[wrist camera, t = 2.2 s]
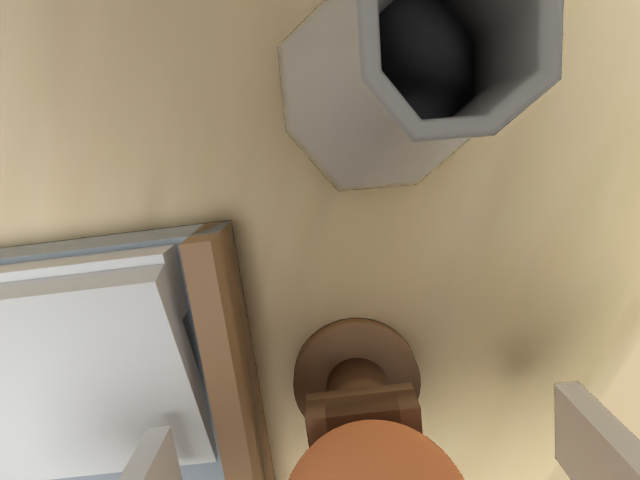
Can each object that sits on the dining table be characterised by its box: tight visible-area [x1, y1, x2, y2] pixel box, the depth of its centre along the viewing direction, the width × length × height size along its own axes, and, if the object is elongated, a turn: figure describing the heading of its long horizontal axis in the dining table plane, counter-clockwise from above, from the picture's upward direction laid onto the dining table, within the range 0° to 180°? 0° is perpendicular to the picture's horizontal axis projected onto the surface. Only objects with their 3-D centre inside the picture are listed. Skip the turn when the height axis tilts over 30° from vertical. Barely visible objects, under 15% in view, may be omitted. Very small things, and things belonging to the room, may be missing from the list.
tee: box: [293, 318, 423, 448], centre depth 17 cm, size 5×5×5 cm
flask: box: [277, 0, 564, 191], centre depth 12 cm, size 7×7×10 cm
